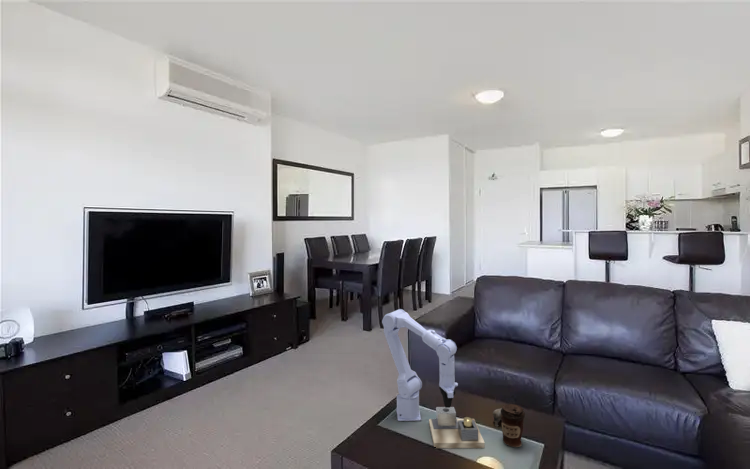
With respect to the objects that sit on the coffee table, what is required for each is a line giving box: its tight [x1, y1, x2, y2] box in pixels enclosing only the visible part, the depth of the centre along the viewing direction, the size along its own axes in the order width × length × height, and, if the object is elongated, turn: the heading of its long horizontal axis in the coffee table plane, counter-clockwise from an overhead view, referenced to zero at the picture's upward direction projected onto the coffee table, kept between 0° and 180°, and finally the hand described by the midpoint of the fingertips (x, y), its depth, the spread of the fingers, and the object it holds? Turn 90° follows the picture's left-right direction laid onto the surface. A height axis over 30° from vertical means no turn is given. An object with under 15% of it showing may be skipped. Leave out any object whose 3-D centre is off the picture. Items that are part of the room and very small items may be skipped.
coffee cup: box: [500, 403, 526, 448], centre depth 133 cm, size 9×8×13 cm
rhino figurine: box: [492, 407, 503, 428], centre depth 148 cm, size 4×14×6 cm, turn 118°
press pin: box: [463, 416, 473, 428], centre depth 135 cm, size 3×3×4 cm
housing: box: [435, 406, 457, 427], centre depth 143 cm, size 7×4×6 cm, turn 88°
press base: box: [428, 418, 486, 449], centre depth 139 cm, size 18×15×6 cm
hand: (447, 406), depth 141 cm, fingers closed
